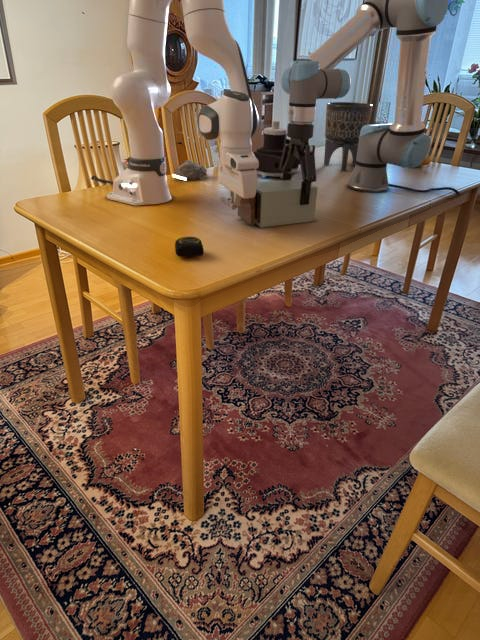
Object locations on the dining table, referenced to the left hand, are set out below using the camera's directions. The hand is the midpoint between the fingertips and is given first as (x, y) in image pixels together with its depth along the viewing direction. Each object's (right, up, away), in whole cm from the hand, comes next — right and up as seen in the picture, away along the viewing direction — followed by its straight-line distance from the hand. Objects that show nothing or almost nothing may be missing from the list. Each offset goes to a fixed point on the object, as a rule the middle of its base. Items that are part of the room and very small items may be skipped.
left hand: (235, 206), depth 133 cm
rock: (-18, +24, +52) cm, 60 cm away
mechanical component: (+19, +30, +63) cm, 72 cm away
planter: (+49, +38, +77) cm, 99 cm away
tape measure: (-11, -18, -20) cm, 29 cm away
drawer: (+8, -2, +5) cm, 10 cm away
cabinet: (+14, -2, +8) cm, 16 cm away
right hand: (+18, +4, +7) cm, 20 cm away
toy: (+86, +41, +84) cm, 127 cm away
